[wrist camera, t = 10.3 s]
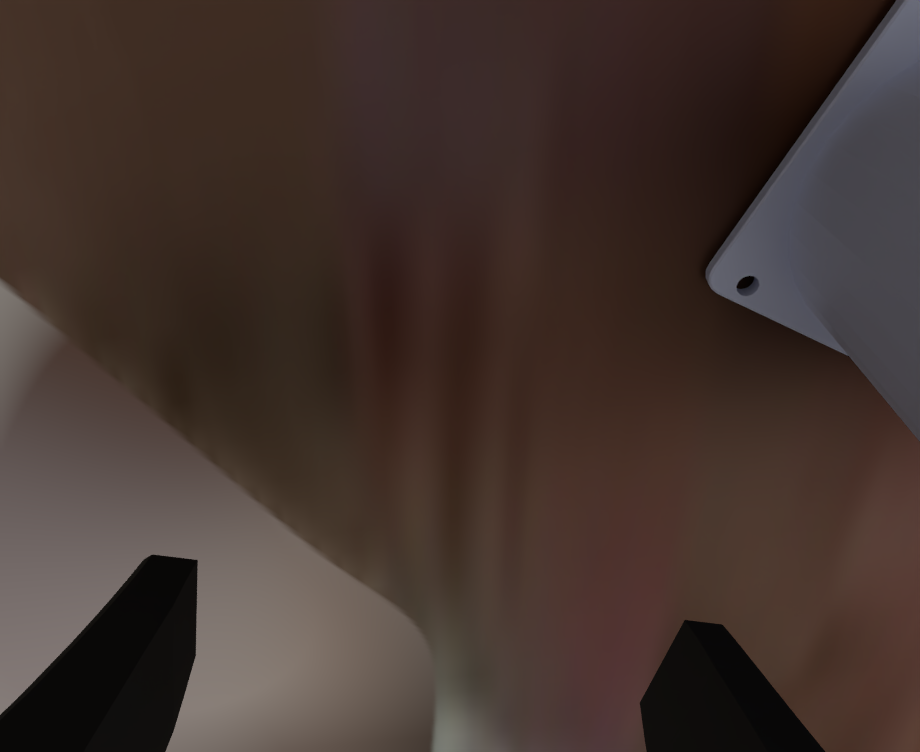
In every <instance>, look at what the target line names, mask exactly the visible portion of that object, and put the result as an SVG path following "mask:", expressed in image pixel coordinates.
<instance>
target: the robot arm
mask: <svg viewBox="0 0 920 752" xmlns="http://www.w3.org/2000/svg"><path fill="white" fill-rule="evenodd" d="M746 276H754V280H753V283H752V284H751V285H750V286H749V287H747V288H744V289H738V288H736V286H737V284H738V282H739V281H740V280H741V279H742V278H743V277H746ZM706 280H707V282H708V284H709V286H710V287H711V289H712V290H713V291H714V292H716V293H717V294H719V295H721V296H723V297H725V298H727V299H729V300H731V301H733V302H736V303H738V304H740V305H742V306H744V307H746V308H748V309H750V310H752V311H755V312H757V313H759V314H761V315H763V316H765V317H767V318H769V319H771V320H773V321H776V322H778V323H780V324H782V325H784V326H786V327H788V328H790V329H792V330H795V331H797V332H799V333H801V334H803V335H805V336H807V337H809V338H811V339H813V340H816V341H818V342H820V343H822V344H824V345H826V346H828V347H830V348H832V349H835V350H837V351H839V352H841V353H843V354H845V355H847V356H849V357H850V358H851V359H852V360H853V362H854V363H855V364H856V365H857V366H858V368H859V369H860V370H861V371H862V373H863V374H864V375H865V376H866V377H867V379H868V380H869V381H870V382H871V383H872V385H873V386H874V387H875V388H876V389H877V391H878V392H879V393H880V394H881V395H882V397H883V398H884V399H885V400H886V401H887V403H888V404H889V405H890V406H891V407H892V409H893V410H894V411H895V412H896V414H897V415H898V416H899V417H900V418H901V420H902V421H903V422H904V423H905V424H906V426H907V427H908V428H909V429H910V430H911V432H912V433H913V434H914V435H915V436H916V438H917V439H918V440H919V441H920V0H896V2H895V3H894V4H893V6H892V7H891V9H890V10H889V11H888V13H887V14H886V16H885V17H884V18H883V20H882V21H881V23H880V24H879V25H878V27H877V28H876V30H875V31H874V33H873V34H872V35H871V37H870V38H869V40H868V41H867V42H866V44H865V45H864V47H863V48H862V49H861V51H860V52H859V54H858V55H857V56H856V58H855V59H854V61H853V62H852V63H851V65H850V66H849V68H848V69H847V70H846V72H845V73H844V75H843V76H842V77H841V79H840V80H839V82H838V83H837V84H836V86H835V87H834V89H833V90H832V91H831V93H830V94H829V96H828V97H827V99H826V100H825V101H824V103H823V104H822V106H821V107H820V108H819V110H818V111H817V113H816V114H815V115H814V117H813V118H812V120H811V121H810V122H809V124H808V125H807V127H806V128H805V129H804V131H803V132H802V134H801V135H800V136H799V138H798V139H797V141H796V142H795V143H794V145H793V146H792V148H791V149H790V150H789V152H788V153H787V155H786V156H785V157H784V159H783V160H782V162H781V163H780V165H779V166H778V167H777V169H776V170H775V172H774V173H773V174H772V176H771V177H770V179H769V180H768V181H767V183H766V184H765V186H764V187H763V188H762V190H761V191H760V193H759V194H758V195H757V197H756V198H755V200H754V201H753V202H752V204H751V205H750V207H749V208H748V209H747V211H746V212H745V214H744V215H743V216H742V218H741V219H740V221H739V222H738V223H737V225H736V226H735V228H734V229H733V230H732V232H731V233H730V235H729V236H728V238H727V239H726V240H725V242H724V243H723V245H722V246H721V247H720V249H719V250H718V252H717V253H716V254H715V256H714V257H713V259H712V260H711V261H710V263H709V265H708V267H707V269H706ZM197 562H198V561H197V560H192V559H184V558H176V557H168V556H160V555H151V556H149V557H147V558H146V559H144V560H143V561H142V562H141V564H140V565H139V566H138V567H137V569H136V570H135V571H134V572H133V574H132V575H131V576H130V577H129V578H128V580H127V581H126V582H125V583H124V584H123V586H122V587H121V588H120V589H119V590H118V591H117V593H116V594H115V595H114V596H113V597H112V598H111V600H110V601H109V602H108V603H107V604H106V605H105V606H104V607H103V609H102V610H101V611H100V612H99V613H98V614H97V616H95V618H94V619H93V620H92V621H91V622H90V623H89V624H88V625H87V626H86V628H85V629H84V630H83V631H82V632H81V633H80V634H79V635H78V636H77V637H76V638H75V639H74V641H73V642H72V643H71V644H70V645H69V646H68V647H67V648H66V649H65V650H64V651H63V652H62V653H61V654H60V655H59V656H58V657H57V658H56V659H55V660H54V661H53V663H51V664H50V666H49V667H48V668H47V669H46V670H45V671H44V672H43V673H42V674H41V675H40V676H39V677H38V678H37V679H36V680H35V681H34V682H33V683H32V684H31V685H30V686H29V687H28V688H27V689H26V690H25V692H23V693H22V694H21V695H20V696H19V697H18V698H17V699H16V700H15V701H14V702H13V703H12V704H11V705H10V706H9V707H8V708H7V709H6V710H5V711H4V712H3V713H2V714H1V715H0V752H165V751H166V748H167V746H168V743H169V741H170V738H171V736H172V733H173V731H174V727H175V724H176V721H177V718H178V714H179V711H180V707H181V704H182V701H183V698H184V694H185V691H186V687H187V683H188V680H189V677H190V673H191V670H192V666H193V663H194V659H195V656H196V609H197ZM640 707H641V714H642V722H643V729H644V737H645V744H646V750H647V752H825V751H824V750H823V748H822V747H821V746H820V745H819V744H818V742H817V741H816V740H815V739H814V737H813V736H812V735H811V734H810V733H809V731H808V730H807V729H806V728H805V726H804V725H803V724H802V723H801V721H800V720H799V719H798V718H797V717H796V715H795V714H794V713H793V712H792V710H791V709H790V708H789V707H788V705H787V704H786V703H785V702H784V700H783V699H782V698H781V697H780V695H779V694H778V693H777V692H776V690H775V689H774V688H773V687H772V685H771V684H770V683H769V682H768V680H767V679H766V678H765V676H764V675H763V674H762V673H761V671H760V670H759V669H758V668H757V666H756V665H755V664H754V663H753V661H752V660H751V659H750V658H749V656H748V655H747V654H746V653H745V651H744V650H743V649H742V648H741V646H740V645H739V644H738V643H737V642H736V640H735V639H734V638H733V637H732V636H731V634H730V633H729V632H728V631H727V630H726V628H725V627H724V626H723V625H721V624H713V623H705V622H697V621H688V620H685V621H684V623H683V624H682V626H681V628H680V630H679V632H678V634H677V635H676V637H675V639H674V641H673V643H672V645H671V646H670V648H669V650H668V652H667V654H666V656H665V658H664V659H663V661H662V663H661V665H660V667H659V669H658V670H657V672H656V674H655V676H654V678H653V680H652V681H651V683H650V685H649V687H648V689H647V691H646V692H645V694H644V696H643V698H642V700H641V702H640Z"/></svg>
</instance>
